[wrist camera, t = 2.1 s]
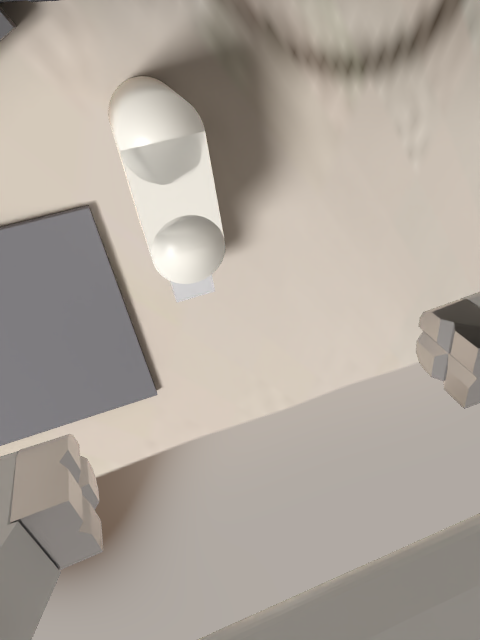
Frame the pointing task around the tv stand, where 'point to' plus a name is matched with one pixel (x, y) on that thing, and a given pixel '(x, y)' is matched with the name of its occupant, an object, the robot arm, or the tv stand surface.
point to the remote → (5, 24)
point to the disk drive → (1, 0)
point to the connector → (169, 182)
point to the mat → (62, 328)
